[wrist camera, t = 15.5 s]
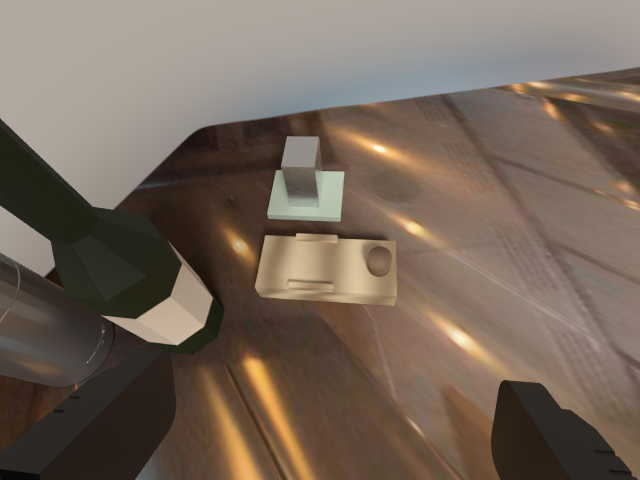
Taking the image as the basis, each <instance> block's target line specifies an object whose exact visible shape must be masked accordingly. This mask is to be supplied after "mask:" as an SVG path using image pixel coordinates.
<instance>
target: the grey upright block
mask: <svg viewBox="0 0 640 480" xmlns="http://www.w3.org/2000/svg"><path fill="white" fill-rule="evenodd" d="M281 168H282V172H283V177H284V181H285V185H286V189H287V193H288V197H289V202H290V206H291V207H314V208H320V200H321V192H322V184H323V174H322V164H321V154H320V144H319V137H290V136H287V140H286V145H285V150H284V155H283V159H282V164H281Z"/></svg>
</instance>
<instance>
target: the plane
mask: <svg viewBox="0 0 640 480" xmlns="http://www.w3.org/2000/svg"><path fill="white" fill-rule="evenodd" d="M255 288H256V290H257V292H258V293H259V295H260V297H268V298H283V299H298V300H314V301H329V302H345V303H360V304H375V305H391V306H394V303H395V300H396V297H397V285H396V241H379V240H357V239H338V238H337V235H322V234H299V233H296V237H291V236H269V235H265V240H264V245H263V250H262V255H261V260H260V265H259V270H258V275H257V280H256V284H255Z"/></svg>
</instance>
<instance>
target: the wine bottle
mask: <svg viewBox="0 0 640 480" xmlns="http://www.w3.org/2000/svg"><path fill="white" fill-rule="evenodd" d="M0 206H2V207H3V208H5V209H6V210H7V211H9V212H10V213H12V214H13V215H15V216H16V217H17V218H19V219H20V220H22V221H23V222H24V223H26V224H27V225H29V226H30V227H32V228H33V229H35V230H36V231H37V232H39V233H40V234H42V235H43V236H44V237H46V238H47V239H49V240H50V241H51V245H52V250H53V256H54V261H55V267H56V270H57V272H58V275H59V277H60V280H61V282H62V285H63V287H64V290H65V292H66V295H67V297H68V298H70V299H72V300H74V301H76V302H77V303H79V304H81V305H83V306H85V307H87V308H88V309H90V310H92V311H94V312H96V313H97V314H99V315H101V316H103V317H105V318H107V319H108V320H110V321H112V322H114V323H116V324H117V325H119V326H121V327H123V328H125V329H127V330H128V331H130V332H132V333H134V334H136V335H138V336H139V337H141V338H143V339H145V340H147V341H148V342H150V343H152V344H154V345H156V346H158V347H159V348H161V349H163V350H165V351H167V352H175V353H183V354H191V355H193V354H194V353H196V352H197V351H199V350H200V349H201V348H203V347H204V346H205V345H207V344H208V343H210V342H211V341H212V340H214V339H215V338H217V336H218V332H219V328H220V325H221V321H222V318H223V314H224V310H223V308H222V306H221V305H220V303H219V302H218V300H217V299H216V297H215V296H214V294H213V293H212V291H211V290H210V289H209V288H208V287H207V285H206V284H205V283H204V282H203V281H202V280H201V278H200V277H199V276H198V275H197V274H196V273H195V271H194V270H193V269H192V268H191V267H190V266H189V265H188V263H187V262H186V261H185V260H184V259H183V258H182V256H181V255H180V254H179V253H178V252H177V251H176V249H175V248H174V247H173V246H172V245H171V244H170V242H169V241H168V240H167V239H166V238H165V237H164V235H163V234H162V233H161V232H160V231H159V230H158V229H157V227H156V226H155V225H154V224H153V223H152V222H151V220H150V219H149V218H148V217H147V216H146V215H142V214H136V213H129V212H123V211H116V210H110V209H103V208H97V207H92V206H91V205H90V204H89V203H88V202H87V201H86V200H85V199H84V198H83V197H82V196H81V195H80V194H79V193H78V192H77V191H76V190H75V189H73V188H72V187H71V186H70V185H69V184H68V183H67V182H66V181H65V180H64V179H63V178H62V177H61V176H60V175H59V174H58V173H57V172H56V171H54V169H53V168H51V167H50V166H49V165H48V164H47V163H46V162H45V161H44V160H43V159H42V158H41V157H40V156H39V155H38V154H37V153H36V152H35V151H34V150H33V149H31V148H30V147H29V146H28V145H27V144H26V143H25V142H24V141H23V140H22V139H21V138H20V137H19V136H18V135H17V134H16V133H15V132H14V131H13V130H12V129H11V128H10V127H8V126H7V125H6V124H5V123H4V122H3V121H2V120H1V119H0Z"/></svg>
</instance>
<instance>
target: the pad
mask: <svg viewBox="0 0 640 480" xmlns="http://www.w3.org/2000/svg"><path fill="white" fill-rule="evenodd" d="M322 174H323V184H322V192H321V200H320V208H314V207H291V206H290V202H289V197H288V193H287V189H286V185H285V181H284V177H283V172H282V170H276V174H275V179H274V184H273V188H272V193H271V198H270V203H269V208H268V212H267V216H268V219H287V220H312V221H337V222H341V209H342V197H343V184H344V172H332V171H322Z"/></svg>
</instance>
